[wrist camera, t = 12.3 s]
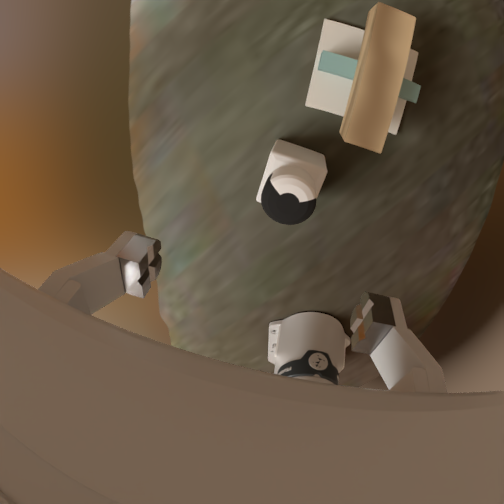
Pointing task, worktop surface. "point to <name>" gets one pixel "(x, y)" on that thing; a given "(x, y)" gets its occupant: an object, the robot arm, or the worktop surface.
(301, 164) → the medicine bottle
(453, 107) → the worktop surface
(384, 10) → the batten
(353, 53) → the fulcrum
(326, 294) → the worktop surface
